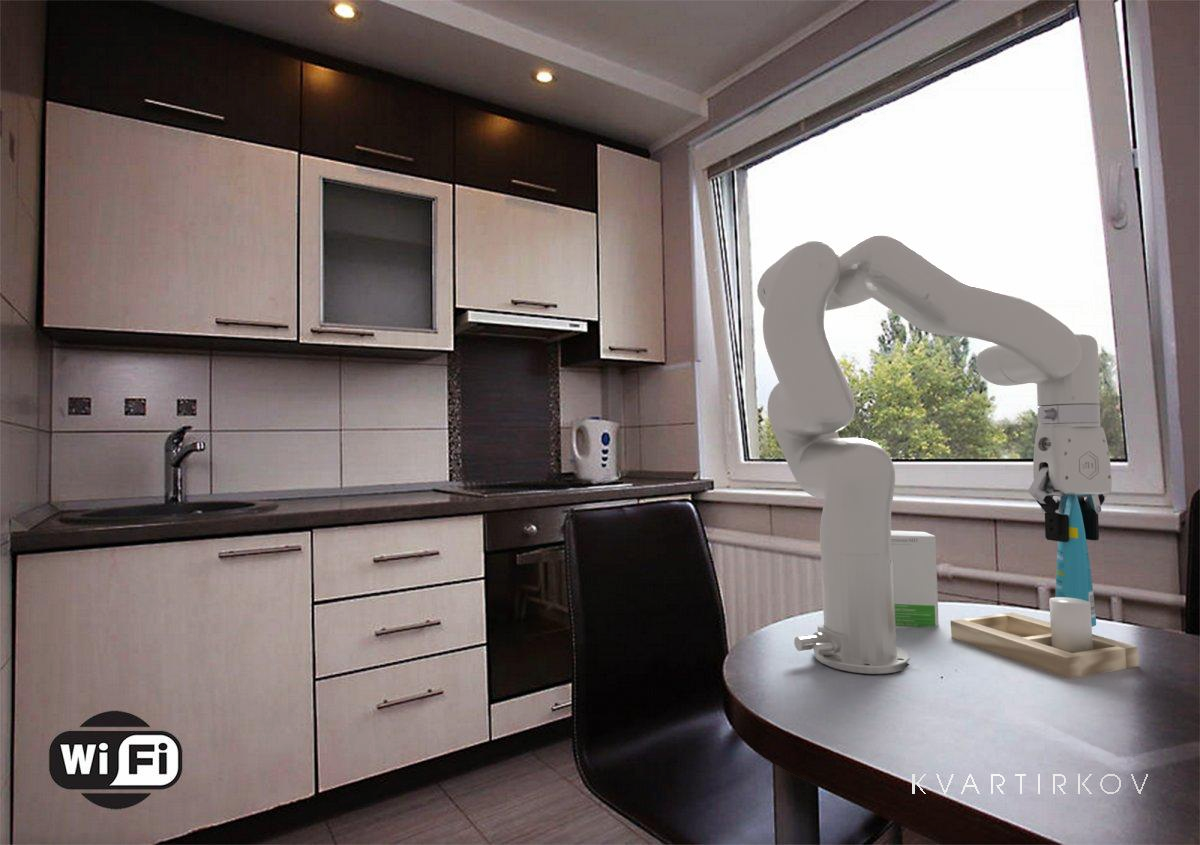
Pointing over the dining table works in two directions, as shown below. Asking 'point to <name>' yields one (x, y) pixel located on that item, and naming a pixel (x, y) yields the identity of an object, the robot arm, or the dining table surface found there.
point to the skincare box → (914, 579)
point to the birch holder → (1042, 645)
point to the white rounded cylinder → (1071, 624)
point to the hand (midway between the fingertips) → (1072, 538)
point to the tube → (1075, 560)
